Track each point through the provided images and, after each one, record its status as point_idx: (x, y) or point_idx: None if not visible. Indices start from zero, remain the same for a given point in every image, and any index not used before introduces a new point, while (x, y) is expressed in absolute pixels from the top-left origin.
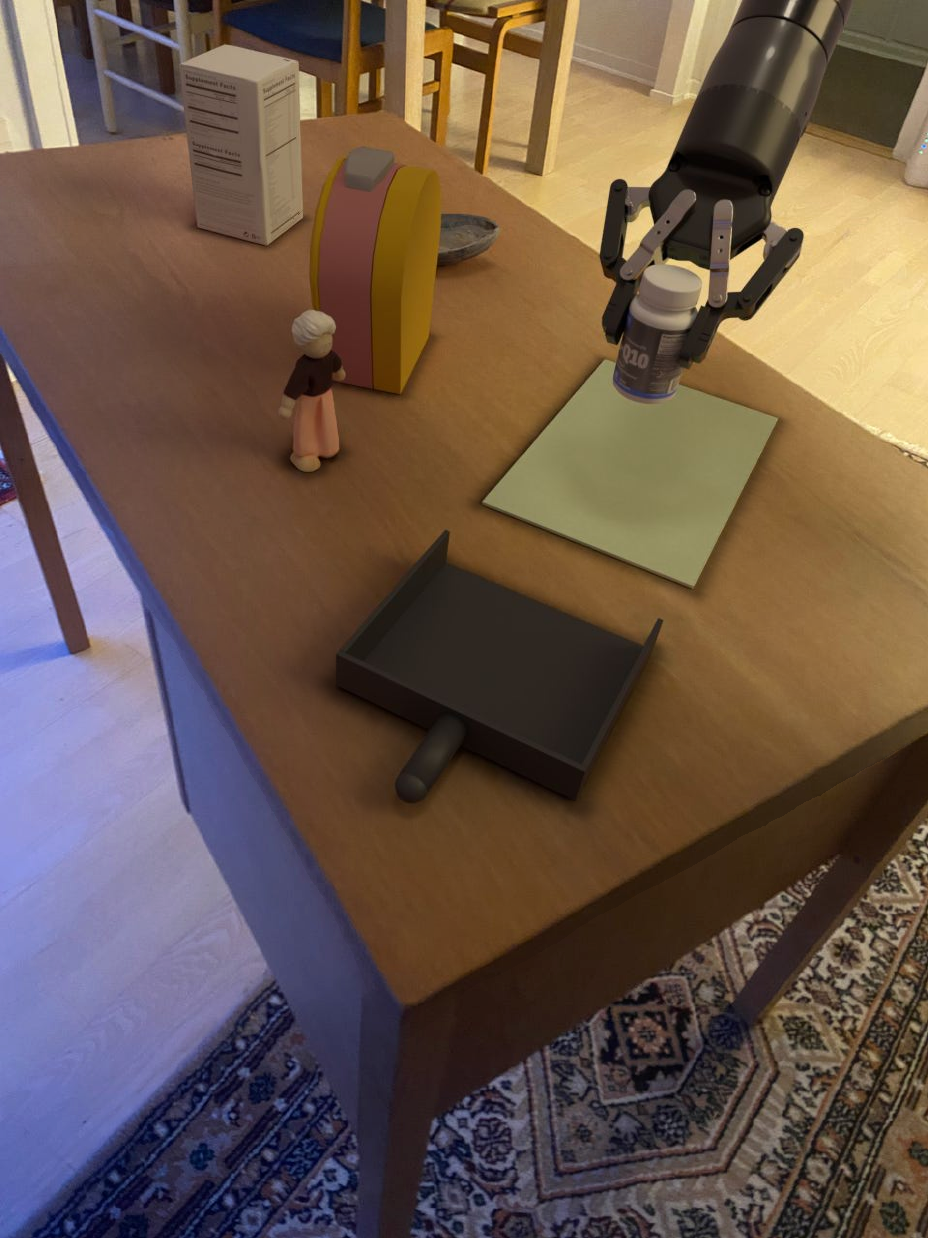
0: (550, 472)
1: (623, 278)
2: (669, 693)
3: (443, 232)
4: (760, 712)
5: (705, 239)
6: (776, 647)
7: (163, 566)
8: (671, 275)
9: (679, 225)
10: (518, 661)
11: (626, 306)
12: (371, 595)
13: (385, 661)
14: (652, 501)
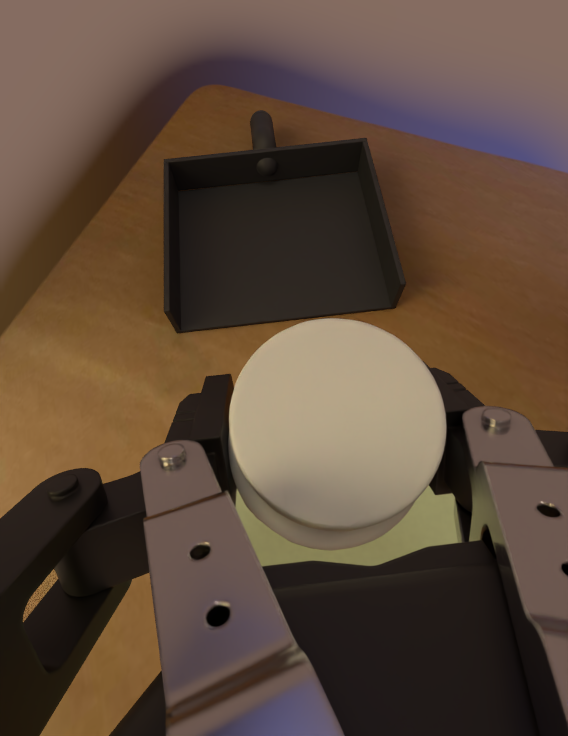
0: (410, 518)
1: (487, 406)
2: (147, 304)
3: None
4: (70, 332)
5: (318, 621)
6: (69, 415)
7: (551, 176)
8: (348, 421)
9: (514, 634)
10: (267, 253)
11: None
12: (410, 244)
13: (349, 198)
14: (271, 559)
